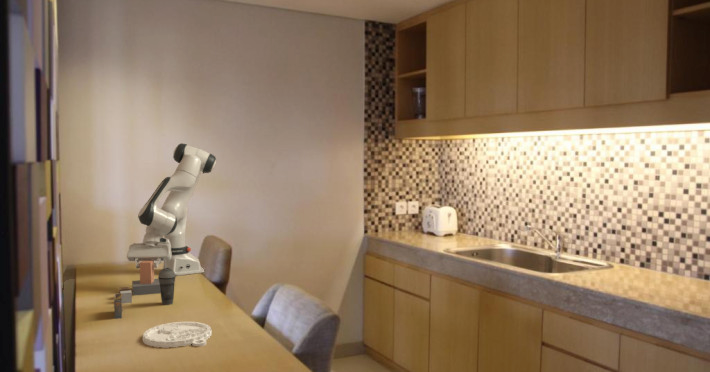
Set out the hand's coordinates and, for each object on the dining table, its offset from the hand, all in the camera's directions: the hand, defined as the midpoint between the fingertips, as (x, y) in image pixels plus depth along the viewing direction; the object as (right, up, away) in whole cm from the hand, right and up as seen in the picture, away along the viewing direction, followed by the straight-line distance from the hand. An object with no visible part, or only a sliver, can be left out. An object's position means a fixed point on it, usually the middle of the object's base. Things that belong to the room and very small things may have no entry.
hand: (146, 267), depth 267 cm
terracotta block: (0, -7, +1) cm, 7 cm away
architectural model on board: (+3, -14, -38) cm, 40 cm away
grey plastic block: (-2, -13, -18) cm, 22 cm away
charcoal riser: (0, -11, +1) cm, 11 cm away
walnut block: (-6, -12, -11) cm, 17 cm away
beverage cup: (+17, -13, -21) cm, 30 cm away
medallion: (+36, -16, -66) cm, 77 cm away
